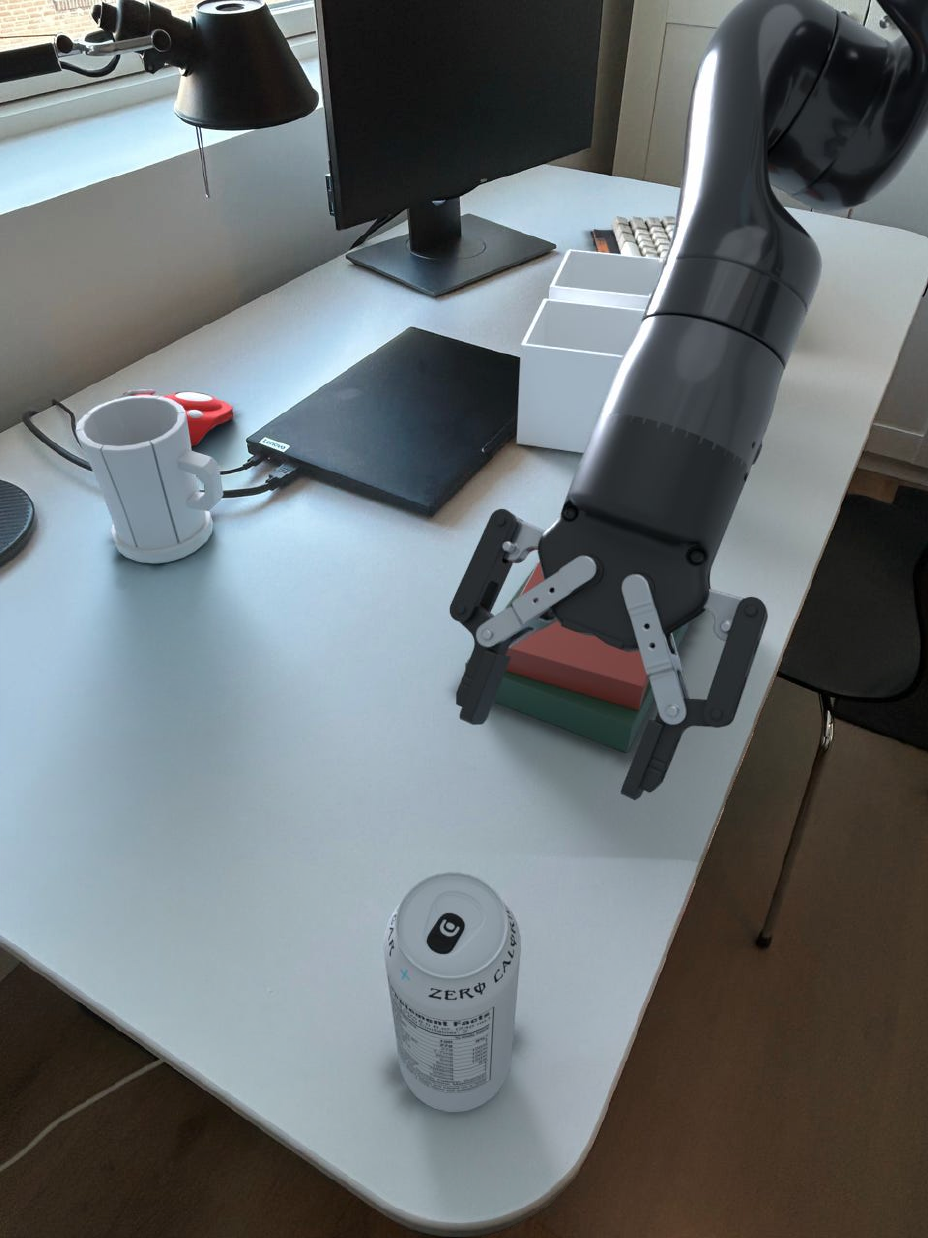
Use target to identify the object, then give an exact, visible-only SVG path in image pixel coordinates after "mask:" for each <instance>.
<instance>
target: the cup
mask: <svg viewBox="0 0 928 1238" xmlns="http://www.w3.org/2000/svg"><path fill="white" fill-rule="evenodd" d="M75 435H76V437H77V440H78V442H79V444H80V446H81V449H82V451H83V453H84V455H85V457H86V460H87V463H88V464H89V466H90V468H91V471H92V473H93V475H94V478H95V480H96V483H97V485H98V488H99V489H100V491H101V494H102V496H103V499H104V502H105V504H106V507H107V510H108V513H109V515H110V518H111V521H112V525H111V531H110V533H111V537H112V539H113V543H114V545H115V547H116V550H117V551H118V552H119V553H120V554H121V555H122V556H124V557H125V558H126V559H129V560H132V561H135V562H138V563H143V564H144V563H146V564H164V563H171V562H174V561H177V560H180V559H181V560H182V559H184V558H186V557H188V556H189V555H192V554H193V553H195V552H197V550H199V549H200V548H201V547H202V546H203V545H205V544H206V543H207V542H208V540H209V538H210V536H211V535H212V534H213V524H214V522H213V518H212V514H211V512H210V511H211V509H212V508H214V507H215V506H216V505H217V504H218V503H219V502H220V501H221V500H222V498H223V496H224V488H223V482H222V476H221V475H222V474H221V469H220V464H218V462H217V461H216V460H215V459H214V458H213V457H212V456H209V455H206V454H203V453H200V452H196V451H194V450H192V446H191V443H190V436H189V430H188V423H187V416H186V412H185V410H184V409H183V407H182V406H181V405H180V404H178V403H177V402H175V401H174V400H172V399H168V398H165V397H161V395H160V396H159V395H153V396H152V395H138V396H127V397H123V398H119V399H116V398H115V399H112V400H108V401H106V402H104V403H101V404H98V405H96V406H95V407H94V408H92V409H90V410H88V411H87V412H86V413H84V415H83V416H82V417H81V418H80V419H79V421H78V422H77V423H76V428H75ZM198 480H200V482H201V483H202V486H203V489H204V490H203V491H201V490H200V486H199V485H200V484H199V481H198Z"/></svg>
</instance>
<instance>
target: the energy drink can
mask: <svg viewBox="0 0 928 1238" xmlns="http://www.w3.org/2000/svg"><path fill="white" fill-rule="evenodd" d="M521 954H522V937H521V933H520V928H519V924H518V921H517V920H516V917H515V915H514V913H513V911H512V910H511V908H510V907H509V906H508V905H507V903H506V902H505V901H504V900H503V899H502V898H501V896H500V895H499V893H498V891H496V889H494V888H493V887H492V886H491V885H490V884H489V883H487V882H486V881H484V880H483V879H481V878H479V877H478V876H477V877H476V876H474V875H472V874H470V873H466V872H465V873H464V872H459V871H445V872H440V873H435V874H433V875H430V876H427V877H426V878H423V879H422V880H421V881H419V882H417V883H416V884H415V885H414V886H412V887H411V888H410V889H409V891H407V893H406V894H405V895H404V896H403V898H402V900H401V901H400V903H399V904H398V905H397V907H395V909H394V910H393V911H392V914H391V915H390V917H389V920H388V921H387V925H386V927H385V930H384V936H383V956H384V962H385V963H384V964H385V971H386V978H387V986H388V993H389V999H390V1006H391V1013H392V1014H391V1015H392V1020H393V1026H394V1033H395V1041H396V1048H397V1055H398V1061H399V1068H400V1071H401V1075H402V1078H403V1079H404V1081H405V1083H406V1084H407V1086H408V1087H407V1088H409V1090H410V1091H411V1092H412V1093H413V1095H414V1096H415V1097H416V1098H418V1099H419V1100H420V1101H421V1102H422V1103H424V1104H425V1105H427V1106H429V1107H432V1108H433V1109H435V1110H439V1111H444V1112H447V1113H461V1112H466V1111H472V1110H474V1109H475V1108H478V1107H480V1106H482V1105H484V1104H485V1103H487V1102H488V1101H489V1100H491V1099H492V1098H494V1096H495V1095H496V1094H497V1093H498V1092H499V1091H500V1089H501V1087H502V1086H503V1084H504V1083H505V1081H506V1079H507V1076H508V1074H509V1071H510V1067H511V1062H512V1055H513V1054H512V1053H513V1045H514V1032H515V1020H516V1009H517V998H518V988H519V987H518V986H519V976H520V967H521V966H520V964H521Z"/></svg>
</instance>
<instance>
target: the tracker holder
mask: <svg viewBox="0 0 928 1238" xmlns="http://www.w3.org/2000/svg"><path fill="white" fill-rule="evenodd" d="M156 392H157V391H156V389H131V390H129V391H126V392H123V394H122V395H120V396H118V397H116V398H115V399H119V398H123V397H127V396H138V395H152V396H154V394H156ZM160 396H161V395H160ZM161 397H165V398H168V399H172V400H174V401H175V402H177V403H178V404H180V405H181V406H182V407H183V409H184V410H185V412H186V416H187V423H188V430H189V436H190V443H191V447H196V446H197V445H198V444H199V443H200V442H201V441H202V440H203V439H204V438H205V436H206V434H208V432H210V431H211V430H212V429H214V428H215V427H216V426H218V425H220V424H221V425H222V424H224V423H226V422H228V421H230V420H232V418H233V417H234V408H233V406H232V405H231V404H230V403H227V402H226V401H223V400H221V399H218V398H216V397H214V396H213V395H209V394H207V393H203V392H198V391H178V392H174V393H170V394H167V395H162V396H161Z"/></svg>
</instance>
